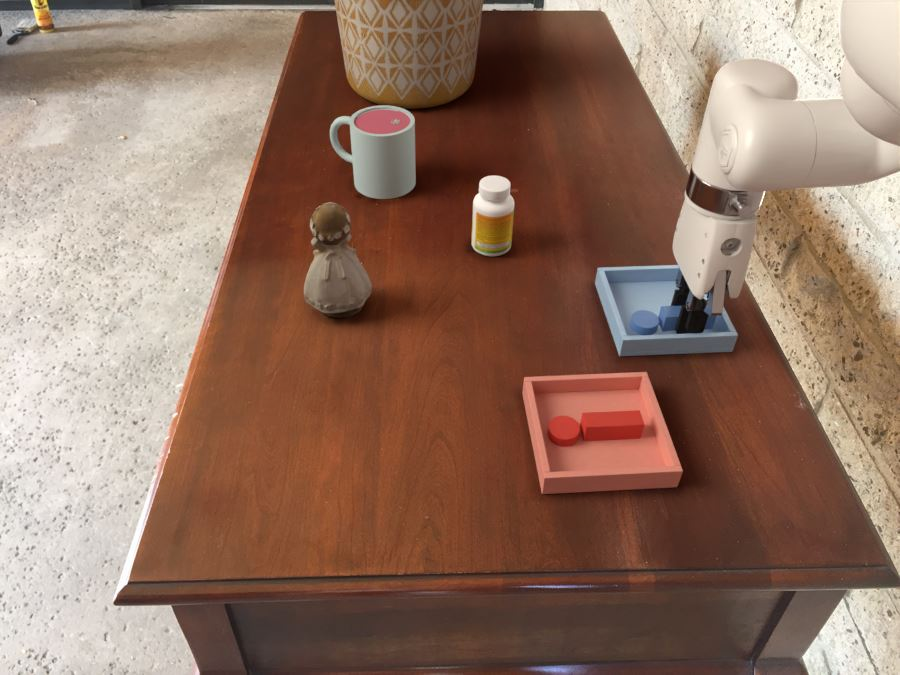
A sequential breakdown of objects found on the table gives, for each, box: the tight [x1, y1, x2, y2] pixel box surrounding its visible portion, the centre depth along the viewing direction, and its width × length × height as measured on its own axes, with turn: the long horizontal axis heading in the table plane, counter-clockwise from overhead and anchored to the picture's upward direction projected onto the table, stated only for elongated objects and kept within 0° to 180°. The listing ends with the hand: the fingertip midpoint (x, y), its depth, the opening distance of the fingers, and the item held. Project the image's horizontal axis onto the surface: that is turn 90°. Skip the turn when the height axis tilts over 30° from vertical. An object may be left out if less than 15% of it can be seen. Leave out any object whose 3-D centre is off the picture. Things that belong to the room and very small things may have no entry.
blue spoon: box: [630, 306, 717, 335], centre depth 90 cm, size 3×10×2 cm, turn 94°
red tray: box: [522, 371, 684, 495], centre depth 80 cm, size 13×13×3 cm
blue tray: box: [594, 264, 739, 357], centre depth 94 cm, size 13×13×3 cm
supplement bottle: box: [471, 174, 515, 257], centre depth 102 cm, size 5×5×10 cm
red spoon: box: [548, 410, 645, 447], centre depth 79 cm, size 3×10×2 cm, turn 94°
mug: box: [329, 104, 417, 200], centre depth 114 cm, size 14×9×10 cm
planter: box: [333, 0, 484, 110], centre depth 133 cm, size 26×26×22 cm
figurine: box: [303, 201, 373, 320], centre depth 90 cm, size 8×7×15 cm
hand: (685, 323), depth 91 cm, fingers closed on blue spoon, 2 cm apart
